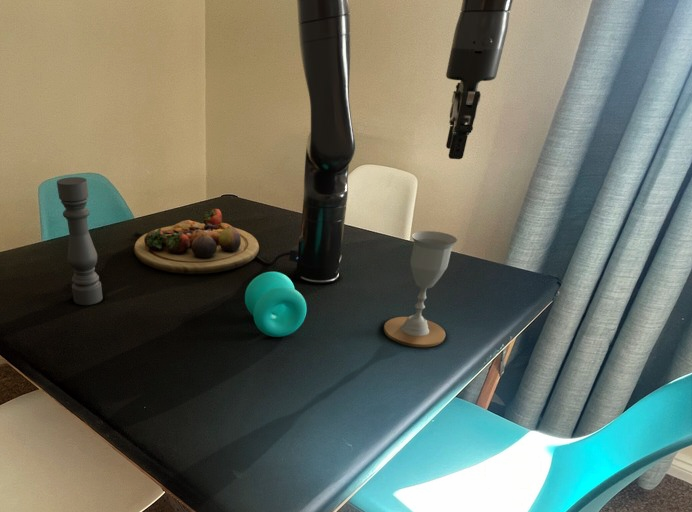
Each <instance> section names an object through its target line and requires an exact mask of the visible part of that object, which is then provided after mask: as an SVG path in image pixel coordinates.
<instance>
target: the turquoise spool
mask: <svg viewBox="0 0 692 512" xmlns="http://www.w3.org/2000/svg"><path fill="white" fill-rule="evenodd" d="M294 285H295V284H294V283H293V282H292V280H291V278H289V277H288V276H287V275H286V274H284V273H282V272H278V271H267V272H262V273H261V274H259V275H257V276H256V277H254V278H253V279H252V280H251V281H250V282H249V284H248V285H247V287H246V290H245V293H244V303H245V307H246V309H247V310H248V312H249V313H250V314H251V315H252V316H253V321H254V325H255V326H256V328H257V330H259V331H260V332H261V333H262V334H264V335H266V336H268V337H271V338H272V337H273V338H281V337H283V338H284V337H287V336H289V335H291V334H293V333H294V332H296V331H297V330H298V329H299V328H300V327H301V326H302V324H303V323H304V322H305V319H306V316H307V312H308V311H307V310H308V309H307V302H306V300H305V297H304V296H303V295H302V294H301V292H299V290H297V289H295V286H294Z"/></svg>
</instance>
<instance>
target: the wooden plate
mask: <svg viewBox="0 0 692 512" xmlns="http://www.w3.org/2000/svg"><path fill="white" fill-rule="evenodd" d="M201 222H203V223H201ZM201 222H199V221H193V220H190V219H187V220H182V221H179V222H178V223H175V224H174V225H169V226H163V227H161V228H156V229H153V230H151V231H148V232H147V233H144V235H143V236H139V238H138V239H137V240H136V241H135V243H134V247H133V252H134V255H135V256H136V258H137V259H138V260H139V261H140V262H141V263H142V264H144V265H145V266H146V265H147V266H148V267H151V268H153V269H156V270H160V271H163V272H168V273H173V274H185V275H204V274H205V275H207V274H213V273H214V274H215V273H216V274H217V273H222V272H225V271H230V270H233V269H237V268H240V267H243V266H244V265H246V264H248V263H250V262H251V261H252V260H254V259H255V256H256V255H257V256H258V253H259V251H260V245H259V242H258V240H257V238H256V237H254V235H253V234H251V233H249V232H247V231H245V230H243V229H240V228H237V227H234V226H232V225H231V224H229V223H226V222H223V214H222V212H221V210H220V209H219V208H213V209H210V212H208V211H205V213H204V216H203V217H202V220H201Z"/></svg>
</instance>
